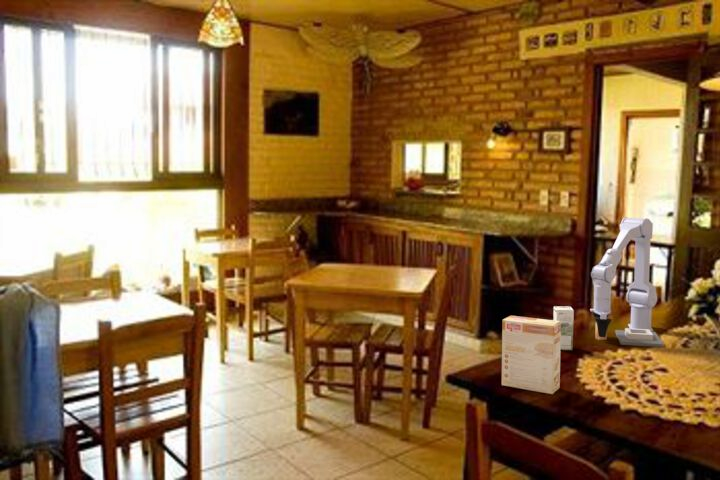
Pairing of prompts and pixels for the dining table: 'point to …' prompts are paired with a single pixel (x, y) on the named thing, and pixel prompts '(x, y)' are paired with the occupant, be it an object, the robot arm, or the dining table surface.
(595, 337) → the peach rounded egg part
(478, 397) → the dining table surface
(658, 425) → the dining table surface
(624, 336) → the dock board
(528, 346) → the coffeecake box
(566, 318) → the syrup box
